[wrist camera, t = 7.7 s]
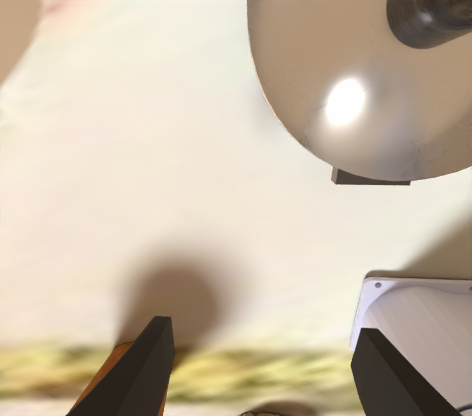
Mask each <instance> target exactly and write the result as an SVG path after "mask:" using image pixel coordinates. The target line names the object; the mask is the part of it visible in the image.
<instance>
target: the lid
mask: <svg viewBox="0 0 472 416" xmlns="http://www.w3.org/2000/svg"><path fill="white" fill-rule="evenodd" d="M247 18H248V36H249V43H250V51H251V57H252V61H253V65H254V69H255V73H256V76H257V80H258V82H259V85H260V87H261V90H262V92H263V95H264V97H265V99H266V101H267V103H268V105H269V106H270V108H271V110H272V112H273V113H274V115H275V117H276V118H277V119H278V121H279V122H280V123H281V125H282V126H283V127H284V129H285V130H286V131H287V132H288V133H289V134H290V135H291V136H292V137H293V138H294V139H295V140H296V141H297V142H298V143H299V144H300V145H301V146H302V147H303V148H305V149H306V150H307V151H309V152H310V153H311V154H313V155H314V156H316V157H318V158H319V159H321V160H323V161H325V162H327V163H328V164H330V165H332V166H334V167H336V168H338V169H341V170H343V171H346V172H349V173H351V174H354V175H358V176H362V177H367V178H371V179H377V180H388V181H414V180H421V179H428V178H435V177H439V176H443V175H446V174H450V173H454V172H458V171H460V170H463V169H465V168H468V167H471V166H472V0H247Z"/></svg>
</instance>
